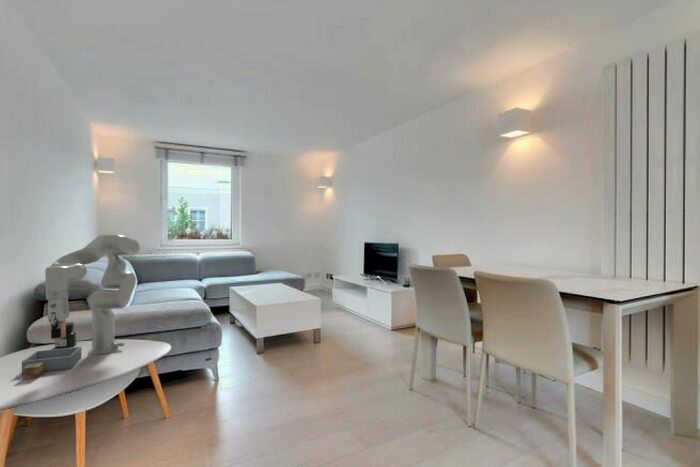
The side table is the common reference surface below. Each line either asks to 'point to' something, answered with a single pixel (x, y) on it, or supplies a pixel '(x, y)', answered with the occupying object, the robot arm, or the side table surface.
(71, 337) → the ink bottle
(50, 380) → the side table surface
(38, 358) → the tote
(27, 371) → the walnut cube
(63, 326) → the peach domed capsule
